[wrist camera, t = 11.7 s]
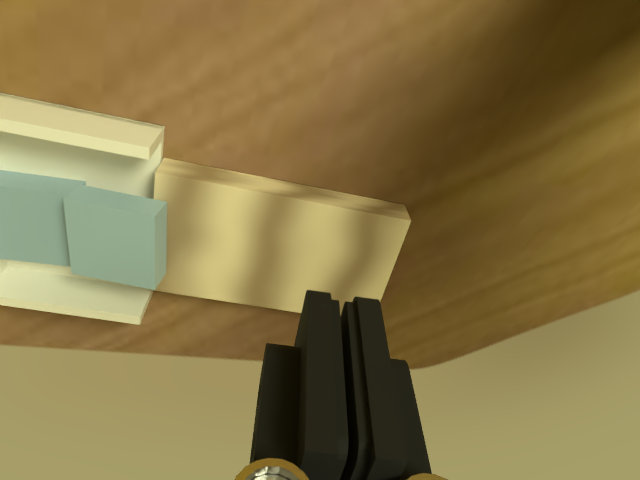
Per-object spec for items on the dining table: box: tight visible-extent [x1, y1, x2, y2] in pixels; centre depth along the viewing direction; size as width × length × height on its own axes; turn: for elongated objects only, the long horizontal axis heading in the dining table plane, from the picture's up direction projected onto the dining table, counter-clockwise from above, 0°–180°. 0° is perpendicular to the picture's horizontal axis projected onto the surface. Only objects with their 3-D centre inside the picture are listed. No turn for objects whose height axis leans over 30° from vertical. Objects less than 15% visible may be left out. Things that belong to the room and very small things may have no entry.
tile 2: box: [63, 185, 167, 290], centre depth 33 cm, size 6×6×2 cm
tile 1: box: [0, 170, 86, 267], centre depth 34 cm, size 6×6×2 cm
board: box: [148, 158, 411, 316], centre depth 37 cm, size 18×10×2 cm, turn 77°
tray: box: [0, 93, 165, 325], centre depth 34 cm, size 12×15×4 cm
